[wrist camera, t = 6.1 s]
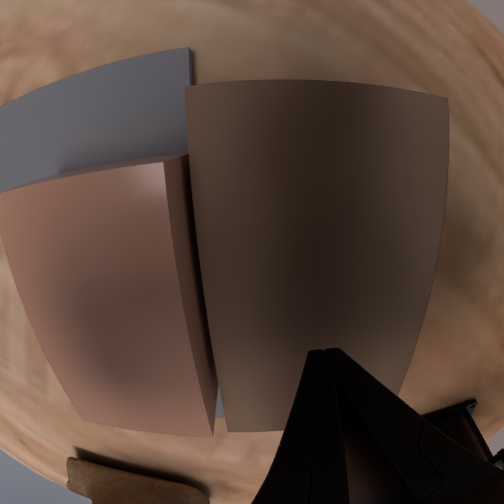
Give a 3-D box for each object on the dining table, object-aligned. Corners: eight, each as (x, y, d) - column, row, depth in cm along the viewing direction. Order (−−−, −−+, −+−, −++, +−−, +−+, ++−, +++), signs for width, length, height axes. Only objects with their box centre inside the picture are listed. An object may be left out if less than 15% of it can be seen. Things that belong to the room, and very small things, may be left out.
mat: (191, 51, 9) (188, 47, 9) (229, 410, 16) (228, 417, 15) (-6, 113, 9) (-14, 114, 9) (75, 395, 16) (72, 401, 15)
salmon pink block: (163, 161, 6) (-7, 195, 6) (212, 437, 10) (83, 420, 10) (195, 151, 10) (57, 173, 10) (220, 370, 14) (110, 365, 14)
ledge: (405, 103, 10) (448, 98, 7) (373, 376, 15) (389, 414, 12) (201, 98, 10) (184, 86, 7) (230, 388, 15) (228, 432, 12)
